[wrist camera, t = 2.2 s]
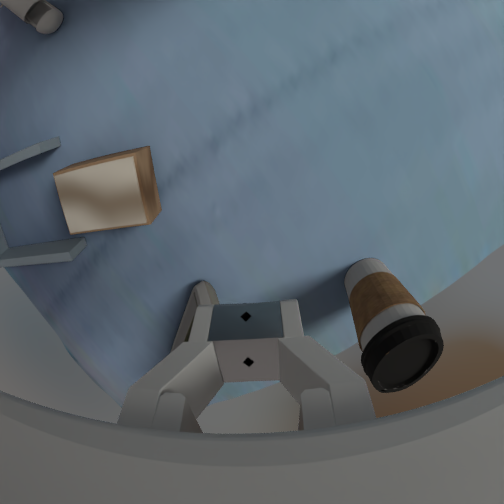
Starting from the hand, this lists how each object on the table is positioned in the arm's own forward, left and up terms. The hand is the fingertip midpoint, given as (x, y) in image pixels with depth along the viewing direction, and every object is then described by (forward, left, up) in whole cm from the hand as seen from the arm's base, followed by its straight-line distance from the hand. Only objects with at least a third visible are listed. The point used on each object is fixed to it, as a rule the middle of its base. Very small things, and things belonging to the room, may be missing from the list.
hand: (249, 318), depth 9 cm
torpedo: (-28, -26, -23) cm, 44 cm away
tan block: (0, -15, -23) cm, 27 cm away
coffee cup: (+15, +13, -23) cm, 30 cm away
